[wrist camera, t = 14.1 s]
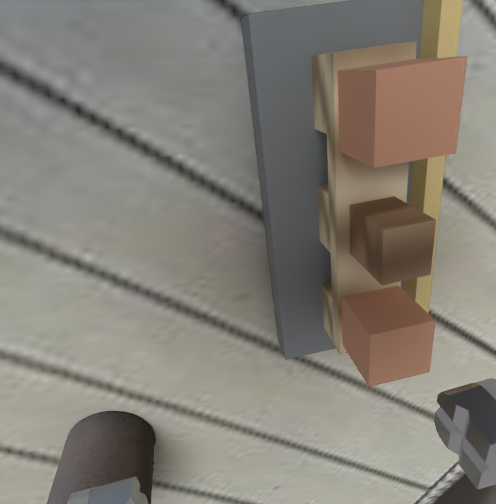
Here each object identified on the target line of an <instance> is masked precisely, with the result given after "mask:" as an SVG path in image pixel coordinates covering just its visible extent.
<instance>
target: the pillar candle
mask: <svg viewBox="0 0 496 504" xmlns="http://www.w3.org/2000/svg"><path fill="white" fill-rule="evenodd" d="M154 445H155V434H154V431H153V429H152V427H151V426H150V425H149V424H148V423H147V422H145V421H144V420H143V419H141V418H140V417H137V416H135V415H133V414H129V413H125V412H117V411H109V412H108V411H107V412H101V413H98V414H94V415H91V416H89V417H87V418H84V419H83V420H81V421H80V422H79V423H77V424H76V425H75V426H74V427H73V428H72V429H71V431H70V433H69V435H68V437H67V440H66V443H65V446H64V450H63V453H62V456H61V459H60V463H59V466H58V469H57V472H56V475H55V478H54V481H53V485H52V488H51V492H50V495H49V498H48V502H47V504H67V502H68V500H69V497H70V495H71V494H72V493H75V492H79V491H82V490H86V489H90V488H93V487H98V486H102V485H106V484H110V483H113V482H117V481H121V480H124V479H128V478H132V477H136V478H137V479H138V481H139V483H140V492H141V493H143V494H145V496H146V498H147V500H148V504H151V491H152V476H153V465H154V461H153V460H154V459H153V455H154Z"/></svg>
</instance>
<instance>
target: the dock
mask: <svg viewBox="0 0 496 504" xmlns="http://www.w3.org/2000/svg"><path fill="white" fill-rule="evenodd" d="M462 2H463V0H349V1H342V2H334V3H326V4H318V5H311V6H303V7H295V8H287V9H279V10H272V11H264V12H256V13H248V14H247V15H246V16H244V17H243V18H242V19H241V24H242V33H243V42H244V50H245V59H246V68H247V76H248V85H249V93H250V102H251V111H252V119H253V128H254V137H255V145H256V154H257V163H258V171H259V180H260V189H261V197H262V206H263V215H264V223H265V232H266V240H267V249H268V258H269V266H270V275H271V284H272V292H273V301H274V310H275V318H276V327H277V336H278V342H279V344H280V347H281V349H282V352H283V355H284V357H285V360H286V359H290V358H295V357H299V356H304V355H308V354H312V353H317V352H321V351H325V350H330V349H334V348H336V347H335V345H334V343H333V342H332V340H331V338H330V337H329V335H328V333H327V332H326V330H325V328H324V320H323V298H322V284H326V283H331V253H330V252H329V251H328V250H327V248H326V247H325V246H324V245H323V244H322V243H321V242H320V233H319V211H318V189H317V186H320V185H325V184H328V159H327V134H326V133H323V132H321V131H318V130H316V129H315V124H314V102H313V80H312V58H311V56H313V55H320V54H327V53H334V52H341V51H348V50H354V49H361V48H368V47H375V46H382V45H390V44H397V43H405V42H413V41H417V46H416V59H428V58H447V57H457V48H458V39H459V30H460V21H461V11H462ZM445 158H446V155H443V156H438V157H432V158H427V159H421V160H416V161H410V162H409V169H408V184H407V200H406V203H407V204H409V205H411V206H413V207H414V208H416V209H418V210H420V211H422V212H423V213H425V214H427V215H429V216H430V217H432V218H434V219H436V228H435V237H434V247H433V256H432V266H431V275H428V276H423V277H419V278H414V279H409V280H405V281H401V288H402V289H403V290H404V291H405V292H406V293H407V294H408V295H409V296H410V297H411V298H412V299H413V300H414V301H415V302H417V303H418V304H419V305H420V306H421V307H422V308H423V309H424V310H425V311H426V312H427V313H429V304H430V295H431V286H432V276H433V267H434V258H435V249H436V240H437V231H438V222H439V212H440V203H441V194H442V185H443V176H444V167H445Z"/></svg>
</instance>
